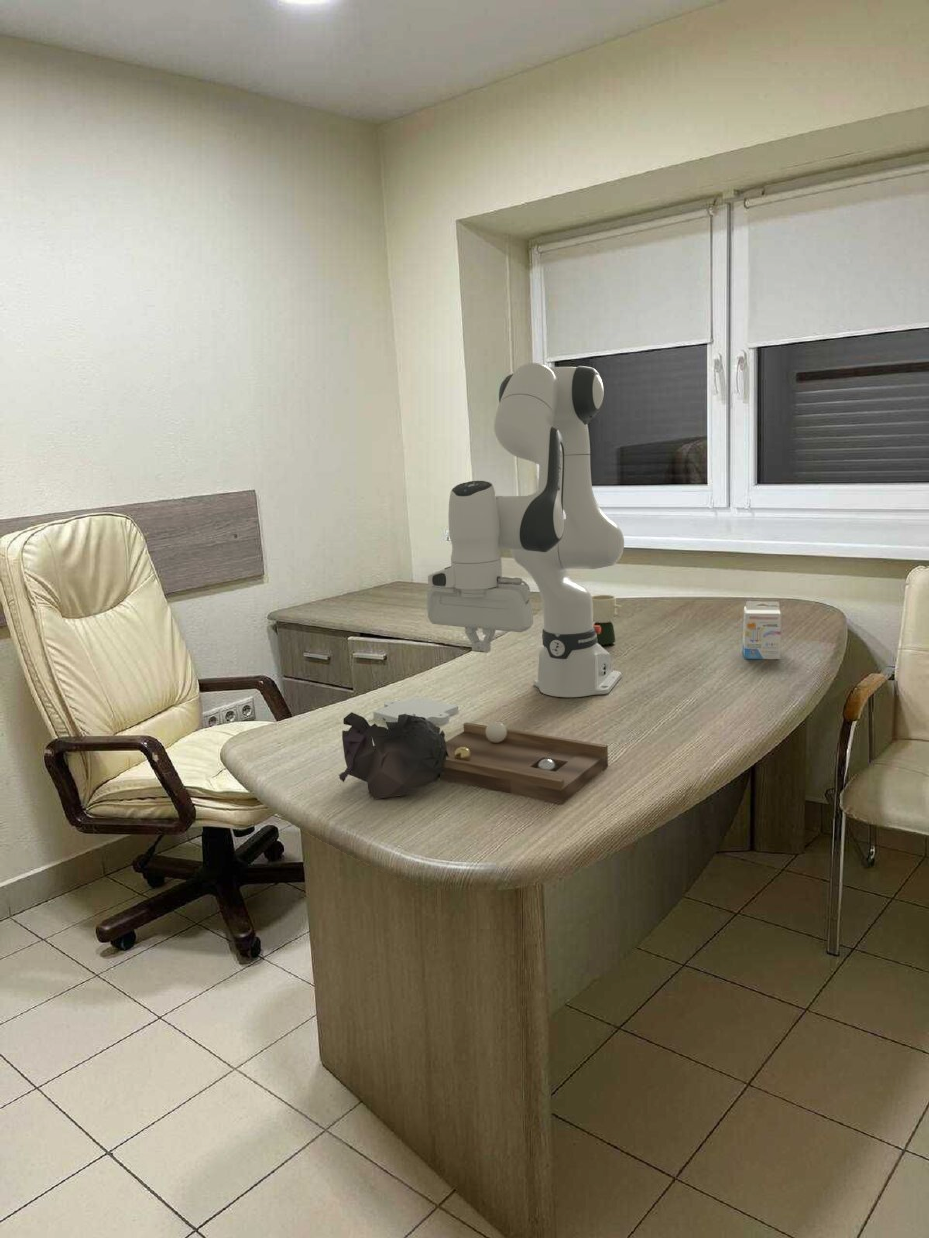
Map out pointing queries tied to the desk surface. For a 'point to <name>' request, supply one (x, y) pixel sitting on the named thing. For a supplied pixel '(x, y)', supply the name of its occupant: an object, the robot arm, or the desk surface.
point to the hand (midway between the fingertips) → (481, 651)
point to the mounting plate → (417, 710)
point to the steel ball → (547, 765)
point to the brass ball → (462, 754)
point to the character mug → (605, 617)
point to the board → (524, 763)
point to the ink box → (761, 630)
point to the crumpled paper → (393, 754)
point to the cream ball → (496, 732)
